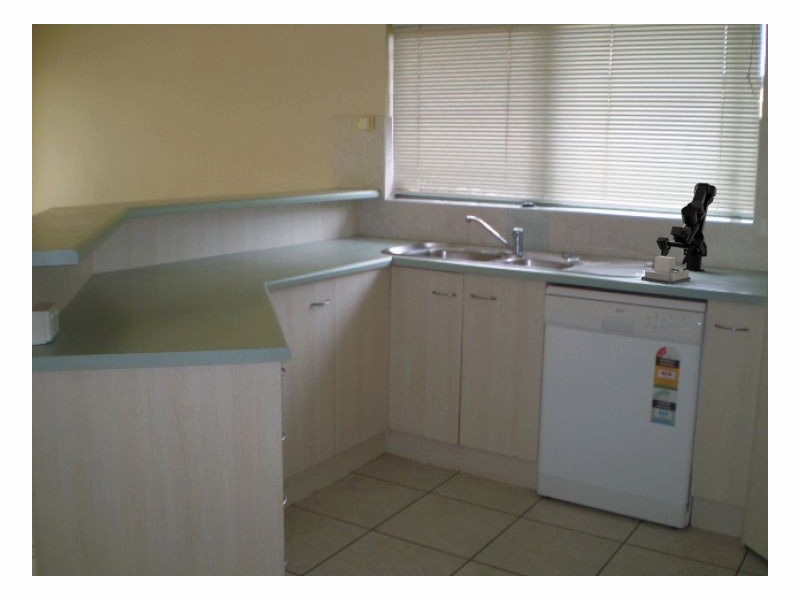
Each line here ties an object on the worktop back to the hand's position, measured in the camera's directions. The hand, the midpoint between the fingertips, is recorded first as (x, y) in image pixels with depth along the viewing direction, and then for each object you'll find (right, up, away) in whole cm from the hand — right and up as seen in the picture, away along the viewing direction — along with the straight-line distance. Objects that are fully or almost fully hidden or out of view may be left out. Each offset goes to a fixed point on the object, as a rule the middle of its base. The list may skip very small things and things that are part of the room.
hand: (671, 262), depth 350 cm
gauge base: (-3, -7, -1) cm, 8 cm away
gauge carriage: (-3, -6, -4) cm, 8 cm away
